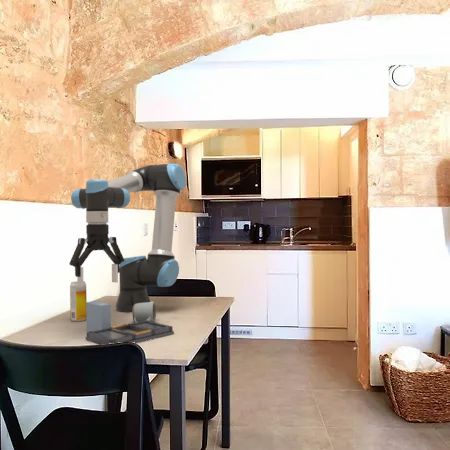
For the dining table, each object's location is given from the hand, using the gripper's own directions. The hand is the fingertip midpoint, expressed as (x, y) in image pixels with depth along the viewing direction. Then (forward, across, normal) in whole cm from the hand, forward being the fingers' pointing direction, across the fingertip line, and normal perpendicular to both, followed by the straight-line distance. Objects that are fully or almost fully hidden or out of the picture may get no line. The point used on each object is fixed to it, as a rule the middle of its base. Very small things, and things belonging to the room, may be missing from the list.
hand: (98, 284), depth 162 cm
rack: (+17, +3, -15) cm, 23 cm away
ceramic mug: (+17, +19, 0) cm, 26 cm away
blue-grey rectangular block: (+17, 0, 0) cm, 17 cm away
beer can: (+17, +5, +23) cm, 29 cm away
